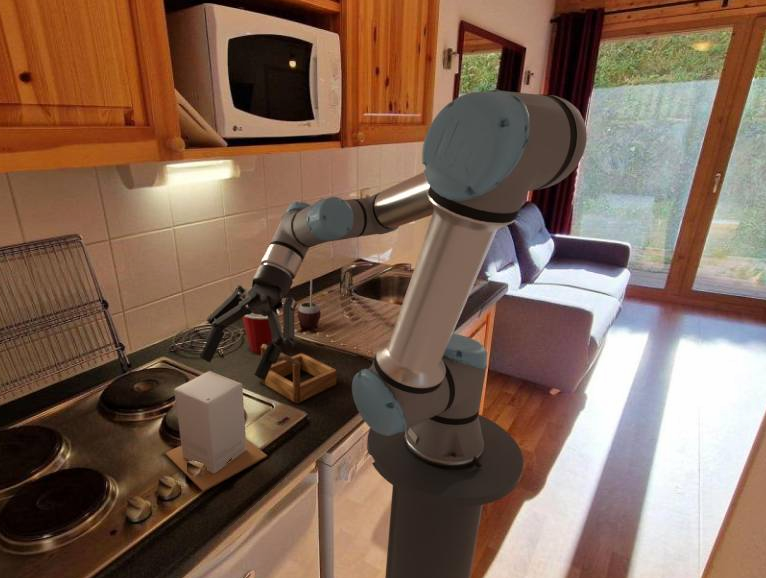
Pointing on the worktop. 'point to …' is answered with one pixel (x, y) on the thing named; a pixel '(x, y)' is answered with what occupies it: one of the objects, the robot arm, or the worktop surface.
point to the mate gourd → (309, 314)
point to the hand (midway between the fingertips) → (231, 368)
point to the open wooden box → (297, 390)
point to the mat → (230, 469)
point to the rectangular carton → (211, 420)
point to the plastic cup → (257, 331)
